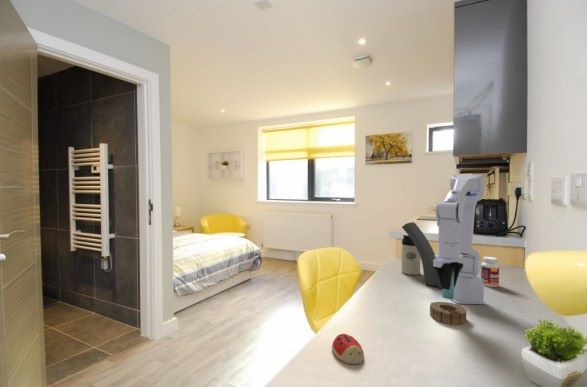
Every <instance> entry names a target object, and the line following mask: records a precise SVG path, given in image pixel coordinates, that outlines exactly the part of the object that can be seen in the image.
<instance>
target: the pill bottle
mask: <svg viewBox="0 0 587 387" xmlns="http://www.w3.org/2000/svg"><path fill="white" fill-rule="evenodd" d="M480 277H481V278H482V280H483V283H484V287H490V288H497V287H499V285H500V265H499V264H498V258H496V257H494V256H483V262H481V267H480Z"/></svg>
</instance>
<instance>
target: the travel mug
mask: <svg viewBox="0 0 587 387" xmlns="http://www.w3.org/2000/svg"><path fill="white" fill-rule="evenodd" d="M402 237H403V238H402V240H401V272H402V273H403V274H404V275H408V276H418V275H420V274H421V257H420V254H419V252H418V250H417V248H416V246H415V244H414V243H413V241H412V239H411V238H410V237H409V235H408V234H407V233H406V232H403V233H402Z"/></svg>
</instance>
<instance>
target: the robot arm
mask: <svg viewBox="0 0 587 387" xmlns="http://www.w3.org/2000/svg"><path fill="white" fill-rule="evenodd" d="M449 181H450V183H449V184H450V191H448V193H446V196H445V198H444V199H443V201H441V202H439V203H437V204H436V208H435V217H436V225H437V227H438V231H437V232H438V235H437V236H438V238H437V239H438V243H437V244H438V245H437V246H438V247H437V253H438V254H436V253H435V255H434V257H436V259H434V260H433V266H434V268H435V270H436V272H437V274H438V277H439V280H440V284H441V288H443V289H447V290H449V289H450V285H451V278H452V274H453V272H454V299H450V300H451V301H452V302H454V304H457V305H462V304H463V305H485V304H486V303H485V302H484V301H485V298H484V297H485V296H484V295H485V294H484V292H485V285H484V283H483V280H482V278H481V275H480V274H481V264H482V262H481V255H480V253H479V251H477V250H476V249H475V248H474V247H473V235H474V227H475V224H474V223H475V212H476V206H477V203H478V202H479V201H481V200H483V197H484V191H485V176H484V175H483V174H482V173H481V174H453V175H452V176H451V177H450V180H449ZM443 289H442V290H443Z"/></svg>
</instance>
